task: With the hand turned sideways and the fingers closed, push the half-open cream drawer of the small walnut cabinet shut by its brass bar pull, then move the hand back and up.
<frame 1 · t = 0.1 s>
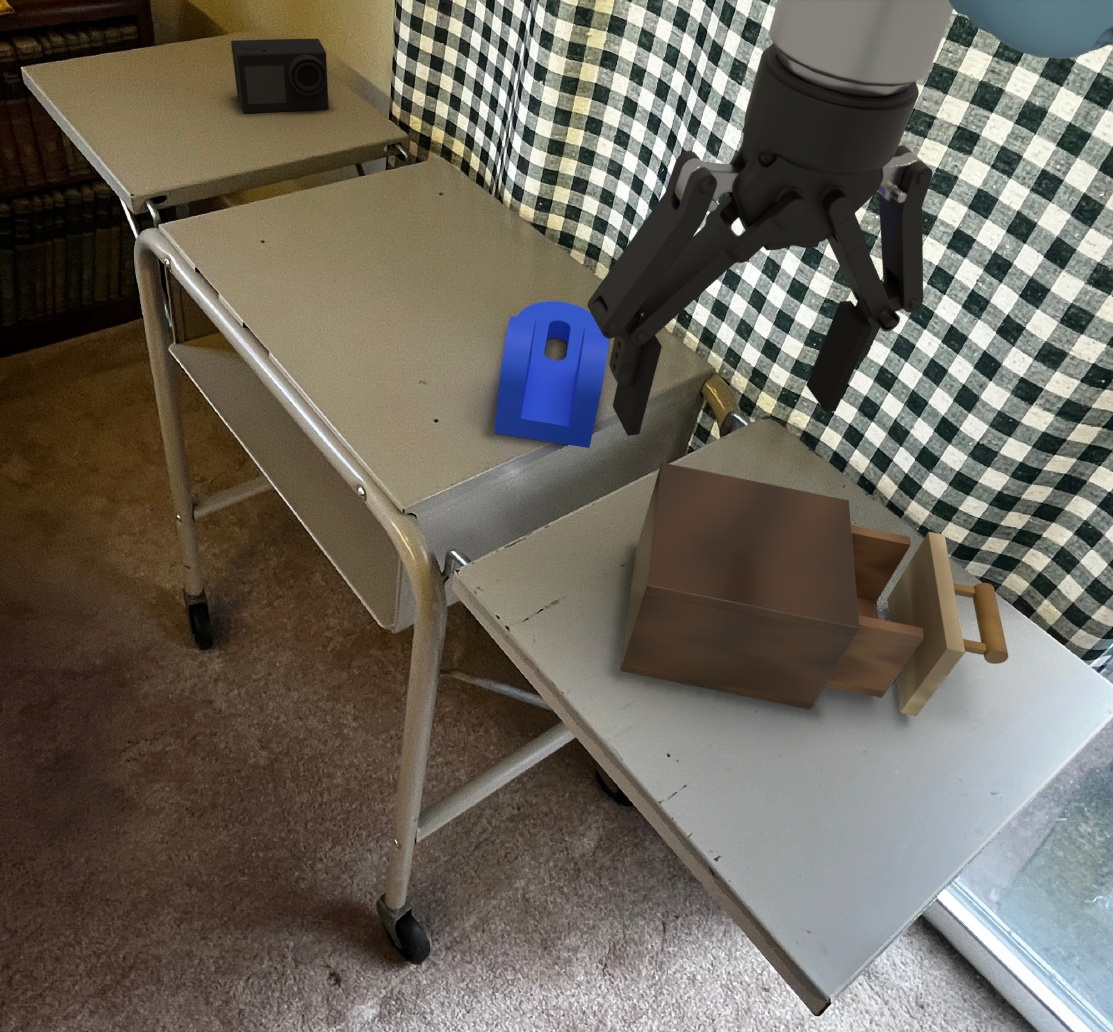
hand: (726, 409, 60), 18 cm above the table, tool pointing down, fingers open, 13 cm apart
cabinet: (718, 625, 71), on the table
drawer: (873, 612, 67), point 5 cm above the table, slide at 6.0 cm
bracket: (551, 377, 89), on the table
digital camera: (284, 107, 118), on the table
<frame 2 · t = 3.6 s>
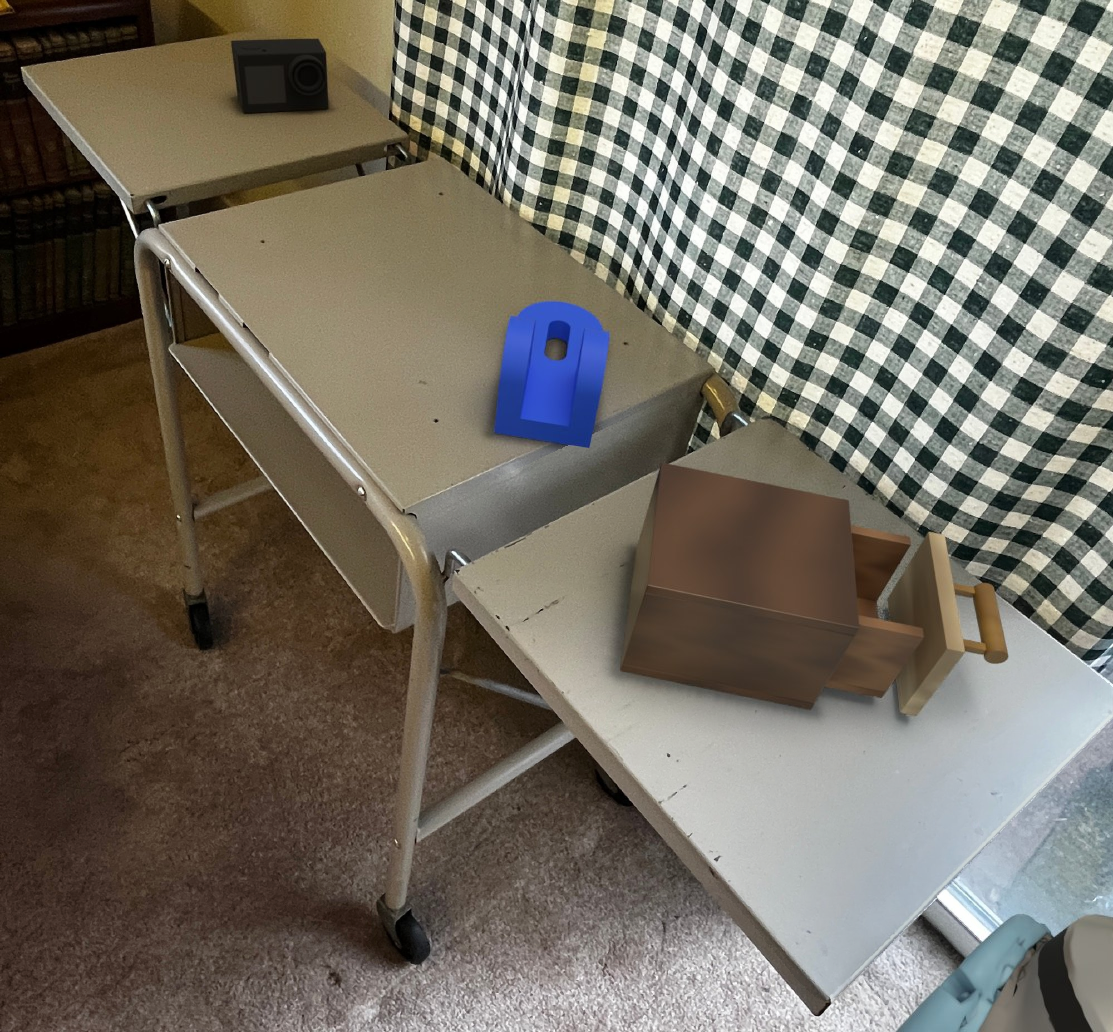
nothing on the table moved.
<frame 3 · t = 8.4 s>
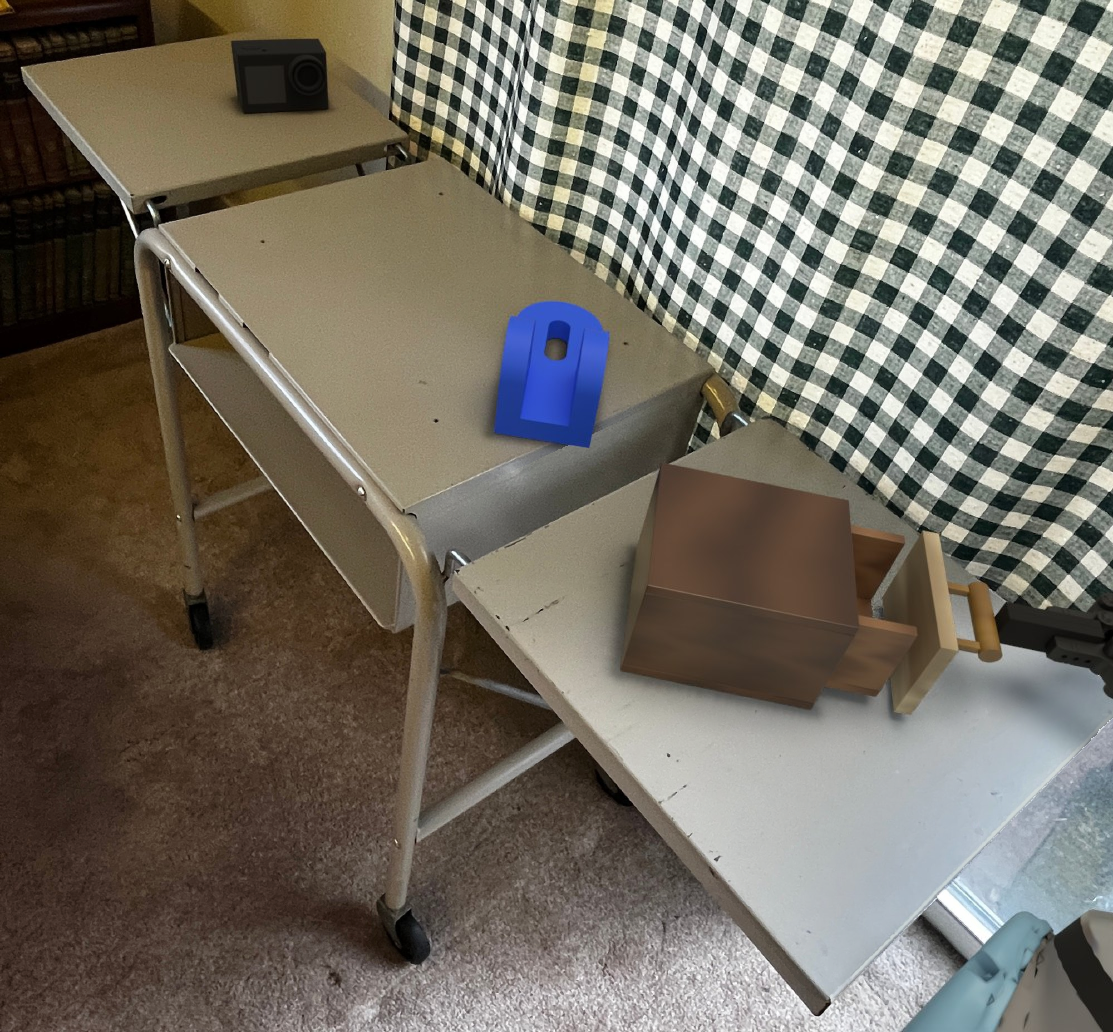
hand: (999, 621, 66), 6 cm above the table, tool horizontal, fingers closed
drawer: (867, 611, 67), point 5 cm above the table, slide at 5.6 cm, touching gripper
everything else where it was.
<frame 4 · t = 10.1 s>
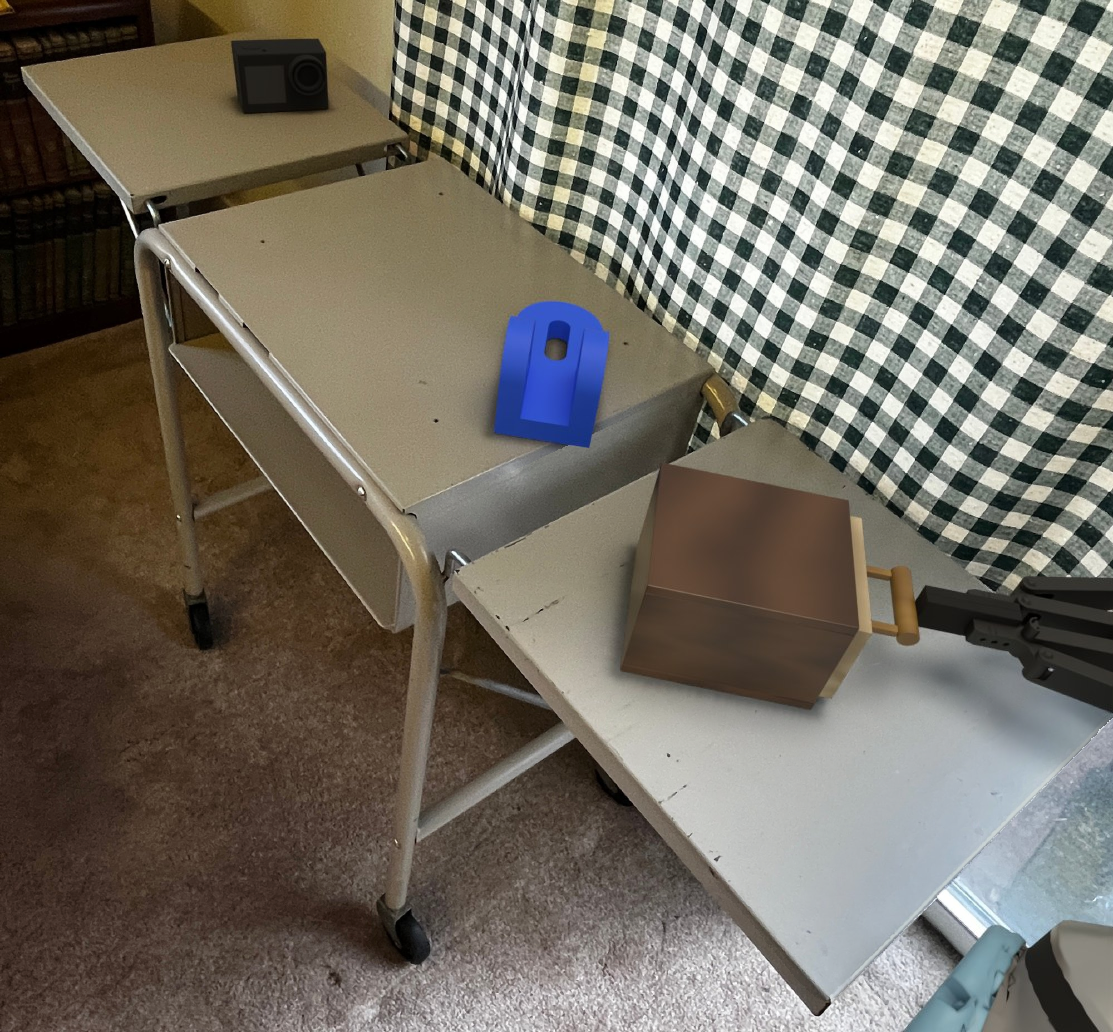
hand: (918, 605, 66), 6 cm above the table, tool horizontal, fingers closed
drawer: (789, 595, 67), point 5 cm above the table, slide at 0.0 cm, touching cabinet, gripper
everything else where it was.
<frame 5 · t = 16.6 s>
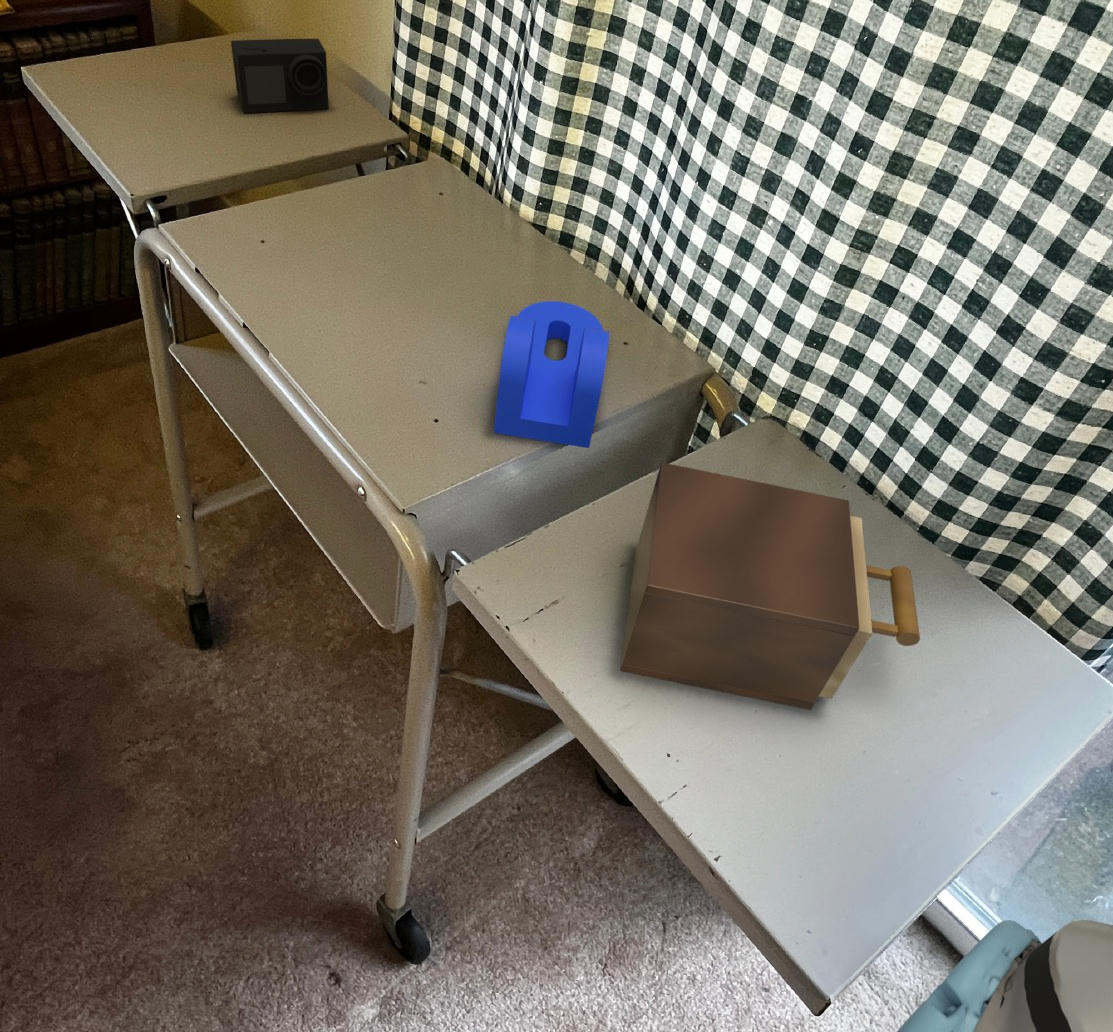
drawer: (789, 595, 67), point 5 cm above the table, slide at 0.0 cm, touching cabinet
everything else where it was.
at the end: drawer slide at 0.0 cm; digital camera moved 0.2 cm from its start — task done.
